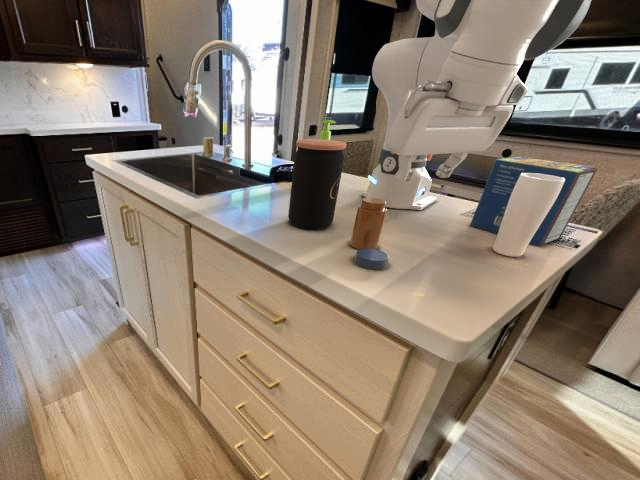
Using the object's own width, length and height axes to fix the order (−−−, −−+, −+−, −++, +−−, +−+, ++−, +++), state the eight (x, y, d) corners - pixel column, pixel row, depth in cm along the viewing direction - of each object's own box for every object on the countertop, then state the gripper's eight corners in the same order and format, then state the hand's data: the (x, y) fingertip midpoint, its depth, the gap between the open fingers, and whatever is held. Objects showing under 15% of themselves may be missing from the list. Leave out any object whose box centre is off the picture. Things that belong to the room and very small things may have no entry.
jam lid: (362, 270, 60) (364, 261, 60) (349, 256, 65) (351, 248, 64) (392, 269, 61) (394, 260, 60) (377, 256, 66) (379, 247, 65)
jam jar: (360, 239, 74) (370, 195, 69) (382, 247, 70) (394, 201, 65) (344, 244, 71) (353, 199, 66) (366, 252, 67) (378, 205, 62)
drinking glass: (511, 246, 72) (546, 173, 64) (534, 259, 67) (576, 181, 59) (480, 245, 72) (511, 172, 64) (500, 259, 66) (538, 179, 59)
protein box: (490, 219, 88) (517, 156, 80) (560, 239, 77) (600, 167, 69) (468, 225, 84) (494, 158, 76) (539, 246, 73) (579, 171, 64)
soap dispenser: (316, 187, 114) (326, 120, 104) (306, 182, 120) (314, 119, 109) (331, 186, 116) (342, 120, 105) (321, 182, 121) (330, 119, 111)
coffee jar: (332, 233, 76) (348, 146, 67) (285, 228, 78) (294, 143, 69) (331, 218, 85) (345, 140, 76) (289, 214, 87) (297, 138, 78)
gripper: (436, 86, 41) (388, 192, 51) (535, 91, 49) (477, 182, 58) (400, 73, 45) (362, 173, 55) (497, 79, 53) (448, 167, 62)
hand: (422, 178), depth 57 cm, fingers open, 8 cm apart
